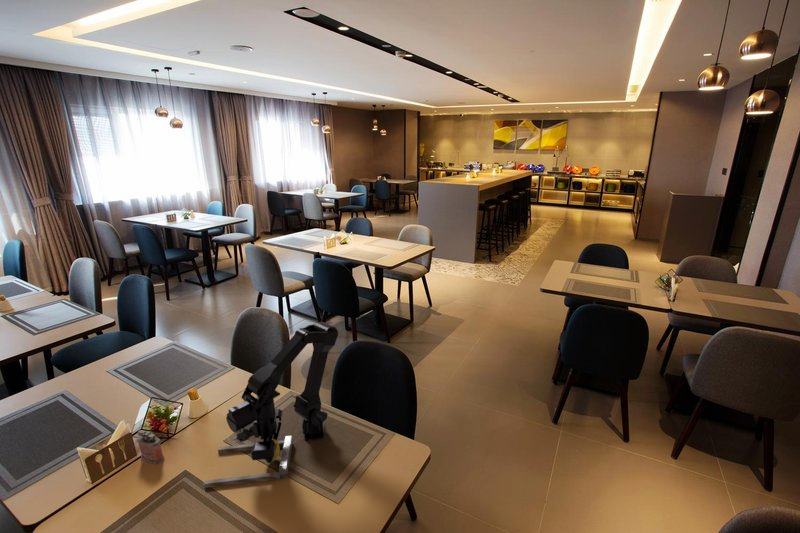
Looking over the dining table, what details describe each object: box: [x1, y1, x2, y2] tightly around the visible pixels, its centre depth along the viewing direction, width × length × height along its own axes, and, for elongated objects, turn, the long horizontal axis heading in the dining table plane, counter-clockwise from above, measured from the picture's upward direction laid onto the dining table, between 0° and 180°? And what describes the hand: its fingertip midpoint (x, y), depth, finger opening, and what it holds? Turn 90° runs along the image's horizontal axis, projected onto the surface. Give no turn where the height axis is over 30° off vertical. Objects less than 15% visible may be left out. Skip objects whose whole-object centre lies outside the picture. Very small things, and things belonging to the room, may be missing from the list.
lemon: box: [263, 438, 281, 462], centre depth 120 cm, size 6×6×8 cm
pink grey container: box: [136, 429, 165, 465], centre depth 122 cm, size 8×3×10 cm, turn 71°
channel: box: [203, 435, 293, 489], centre depth 120 cm, size 23×14×3 cm, turn 98°
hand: (271, 455), depth 121 cm, fingers closed on lemon, 5 cm apart
